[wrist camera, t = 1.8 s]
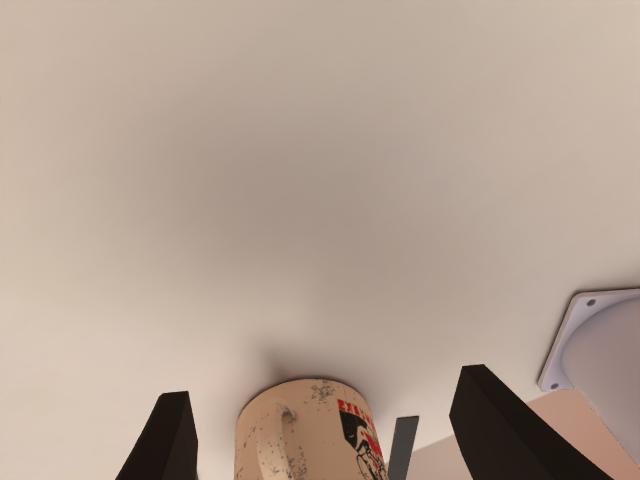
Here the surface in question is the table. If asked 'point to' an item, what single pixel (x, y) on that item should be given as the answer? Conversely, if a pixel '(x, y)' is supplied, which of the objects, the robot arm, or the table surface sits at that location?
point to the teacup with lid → (308, 435)
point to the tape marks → (400, 448)
